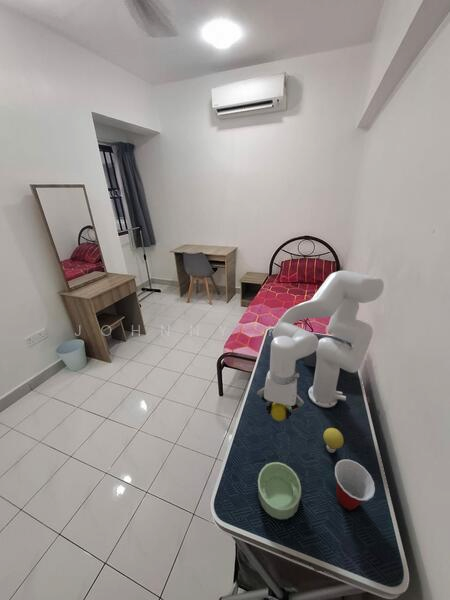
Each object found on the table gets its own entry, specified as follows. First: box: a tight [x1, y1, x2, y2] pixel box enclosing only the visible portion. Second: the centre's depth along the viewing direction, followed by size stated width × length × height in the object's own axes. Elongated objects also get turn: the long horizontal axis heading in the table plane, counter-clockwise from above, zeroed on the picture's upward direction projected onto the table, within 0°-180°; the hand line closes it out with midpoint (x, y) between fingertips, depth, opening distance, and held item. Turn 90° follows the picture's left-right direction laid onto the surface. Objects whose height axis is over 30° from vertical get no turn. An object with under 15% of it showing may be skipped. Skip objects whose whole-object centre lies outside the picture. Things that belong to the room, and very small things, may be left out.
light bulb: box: [322, 427, 345, 454], centre depth 87 cm, size 7×7×10 cm
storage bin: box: [304, 333, 348, 368], centre depth 128 cm, size 21×16×14 cm
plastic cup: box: [334, 459, 376, 510], centre depth 73 cm, size 11×11×12 cm
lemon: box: [270, 402, 288, 422], centre depth 82 cm, size 6×6×8 cm
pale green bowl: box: [257, 461, 302, 520], centre depth 76 cm, size 13×13×6 cm
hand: (278, 413), depth 82 cm, fingers closed on lemon, 5 cm apart
